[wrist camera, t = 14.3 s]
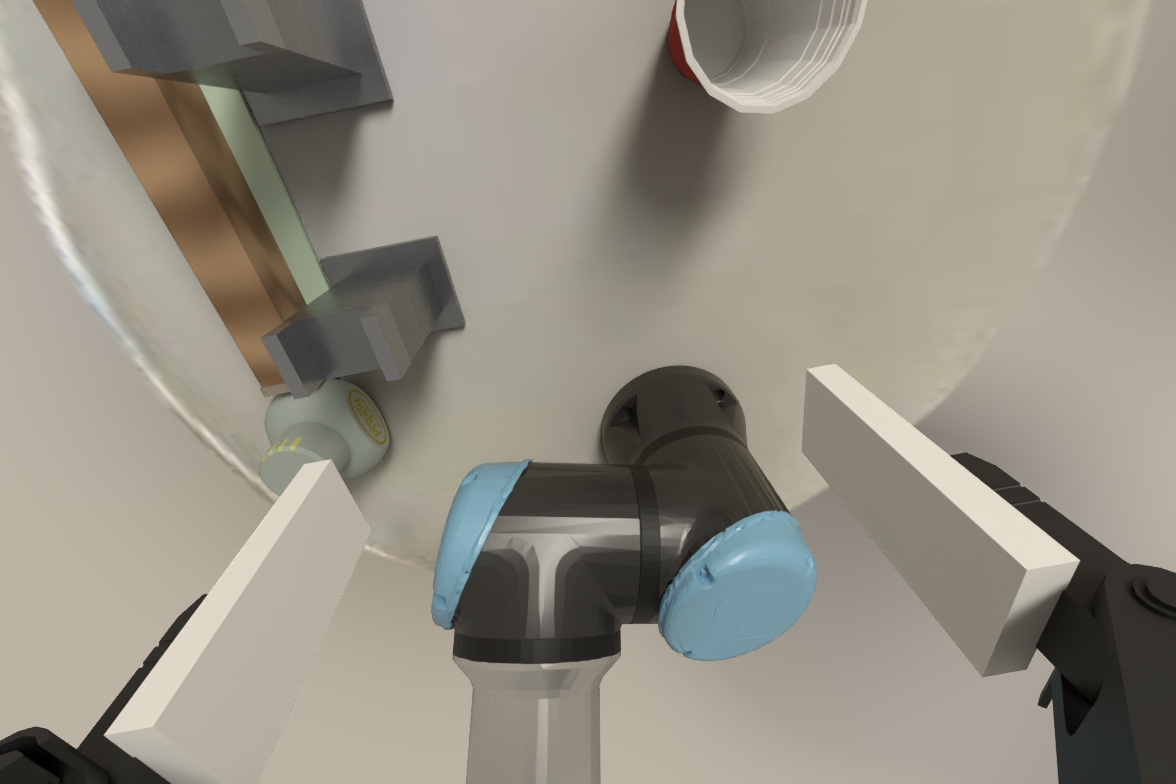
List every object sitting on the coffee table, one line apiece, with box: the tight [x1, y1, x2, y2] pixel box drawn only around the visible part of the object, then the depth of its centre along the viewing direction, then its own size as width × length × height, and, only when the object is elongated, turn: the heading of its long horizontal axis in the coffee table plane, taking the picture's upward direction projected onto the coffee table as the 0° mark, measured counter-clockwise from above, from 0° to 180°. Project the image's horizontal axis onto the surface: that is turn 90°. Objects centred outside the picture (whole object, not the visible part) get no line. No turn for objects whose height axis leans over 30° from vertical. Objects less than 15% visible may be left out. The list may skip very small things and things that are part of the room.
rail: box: [33, 0, 307, 397], centre depth 36 cm, size 29×5×5 cm, turn 10°
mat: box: [199, 85, 331, 304], centre depth 38 cm, size 28×9×1 cm, turn 10°
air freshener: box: [259, 378, 389, 496], centre depth 43 cm, size 11×8×10 cm
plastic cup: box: [668, 0, 867, 113], centre depth 30 cm, size 11×11×12 cm
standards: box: [71, 0, 465, 399], centre depth 31 cm, size 26×10×14 cm, turn 10°
